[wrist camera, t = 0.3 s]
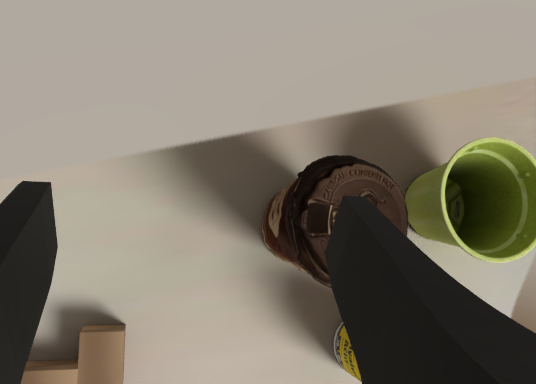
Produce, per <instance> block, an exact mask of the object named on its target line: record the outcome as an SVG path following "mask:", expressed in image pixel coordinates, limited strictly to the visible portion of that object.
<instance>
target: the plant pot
mask: <svg viewBox="0 0 536 384" xmlns="http://www.w3.org/2000/svg"><path fill="white" fill-rule="evenodd" d="M405 203H406V206H407V211H408V222H409V223H410V224H411V226H412V227H413V228H414V230H415V231H416V232H417V233H418V234H419V235H420V236H422V237H424V238H426V239H429V240H434V241H438V242H442V243H446V244H450V245H454V246H458V247H461V248H462V249H463V250H464V251H465V252H467V253H468V254H470V255H471V256H473V257H475V258H478V259H480V260H483V261H488V262H494V263H503V262H509V261H512V260H515V259H518V258H520V257H522V256H524V255H525V254H527V253H528V252H529V251H530V250H531V249H533V247H534V246H535V245H536V160H535V159H534V158H533V157H532V156H531V154H530V153H529V152H528V151H526V150H525V149H524V148H523V147H521V146H520V145H518V144H516V143H514V142H512V141H510V140H507V139H503V138H495V137H489V138H482V139H478V140H475V141H472V142H470V143H468V144H466V145H464V146H463V147H462V148H460V149H459V150H458V151H457V152H456V153H455V154H454V155H453V156H452V157H451V159H450V160H449V161H448V162H447V163H445V164H443V165H441V166H439V167H437V168H435V169H433V170H431V171H429V172H427V173H425V174H423V175H421V176H419V177H418V178H417V179H416V180H415V181H414V182H413V183H412V184H411V185H410V186H409V188H408V190H407V192H406V195H405ZM456 203H459V215H458V217H456V216H455V214H456V213H455V212H456Z"/></svg>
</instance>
